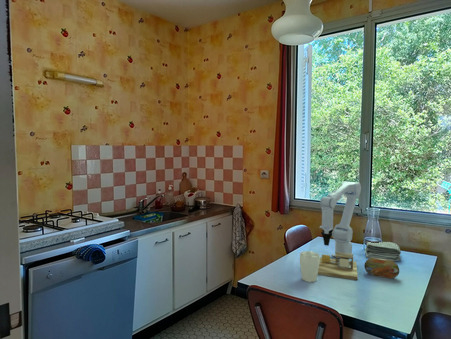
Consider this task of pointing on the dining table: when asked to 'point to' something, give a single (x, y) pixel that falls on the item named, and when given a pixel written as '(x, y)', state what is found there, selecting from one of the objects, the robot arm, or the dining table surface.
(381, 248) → the towel
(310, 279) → the cup
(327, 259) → the slider
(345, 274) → the board tunnel
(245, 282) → the dining table surface
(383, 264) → the tin
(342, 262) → the block
